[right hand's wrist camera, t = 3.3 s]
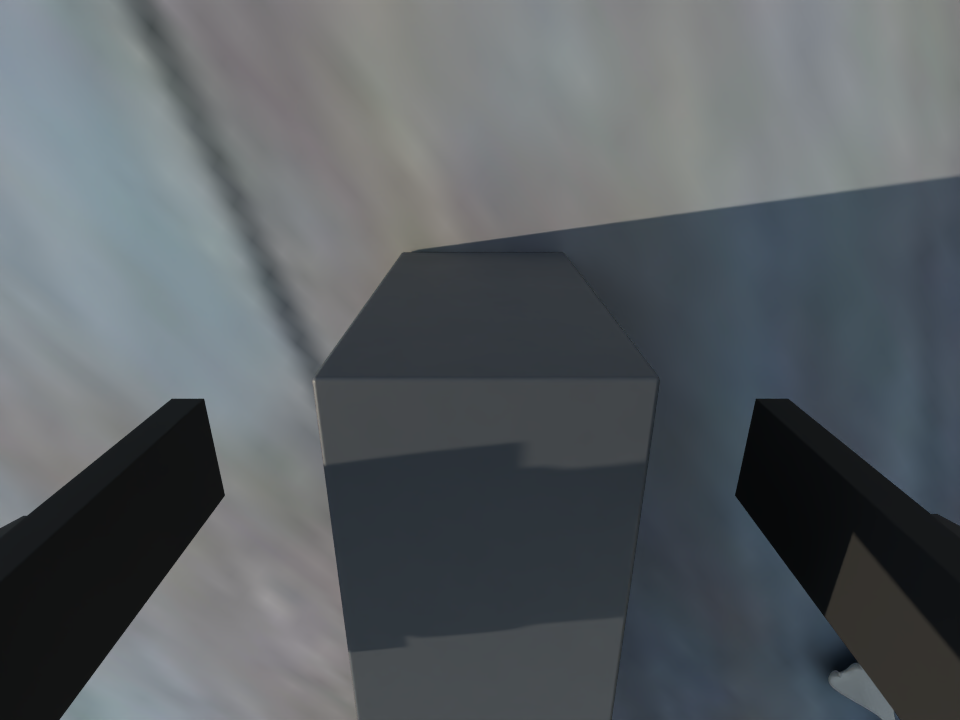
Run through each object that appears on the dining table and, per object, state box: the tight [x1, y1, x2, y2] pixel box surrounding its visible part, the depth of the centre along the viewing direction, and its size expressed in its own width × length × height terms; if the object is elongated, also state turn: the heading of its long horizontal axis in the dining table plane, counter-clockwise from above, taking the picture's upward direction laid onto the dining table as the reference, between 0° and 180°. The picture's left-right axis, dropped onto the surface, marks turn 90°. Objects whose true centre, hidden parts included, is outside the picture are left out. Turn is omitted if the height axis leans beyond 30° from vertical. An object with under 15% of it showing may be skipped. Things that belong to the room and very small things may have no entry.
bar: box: [312, 252, 660, 720], centre depth 15 cm, size 25×4×8 cm, turn 0°
